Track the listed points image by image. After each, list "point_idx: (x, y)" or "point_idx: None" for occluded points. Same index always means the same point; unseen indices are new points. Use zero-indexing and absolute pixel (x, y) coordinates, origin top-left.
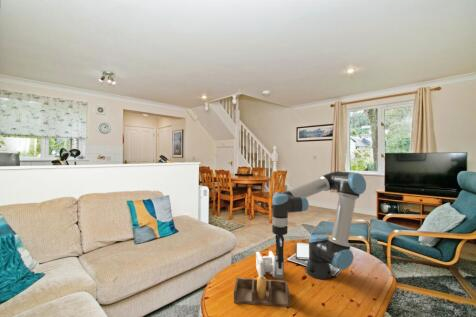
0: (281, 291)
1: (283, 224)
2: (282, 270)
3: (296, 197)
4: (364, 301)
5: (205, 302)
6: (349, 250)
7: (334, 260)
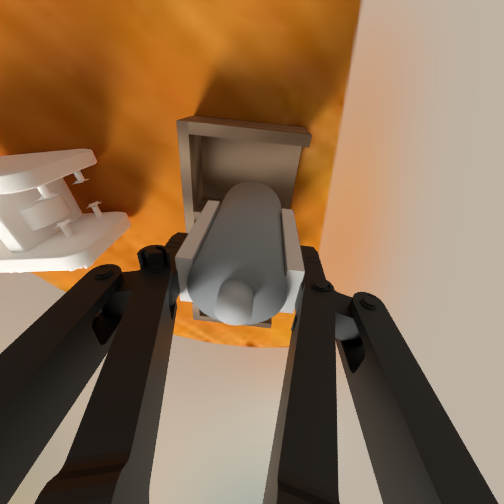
0: (212, 148)
1: None
2: (295, 224)
3: None
4: None
5: (268, 347)
6: None
7: None
